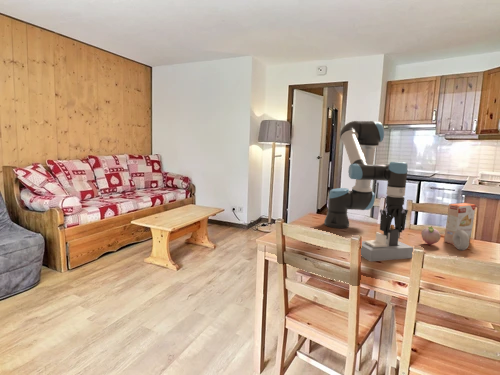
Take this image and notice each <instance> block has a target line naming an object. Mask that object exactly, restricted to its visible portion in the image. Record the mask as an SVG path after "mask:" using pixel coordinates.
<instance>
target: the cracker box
mask: <svg viewBox="0 0 500 375" xmlns="http://www.w3.org/2000/svg"><path fill="white" fill-rule="evenodd" d="M476 207H477V205H476V204H473V203H468V202H461V203H449V204H448V209H447V216H446V223H445V229H444V230H445V231H444V238H443V242H444V243H447V244H449V245H454V243H453V235H454V233H455V232H456V231H458V230H463V231H465V232H466V233H467V235H468V237H469V243H470V242H471V240H472V239H471V237H472V232H473V225H474V219H475V213H476ZM454 246H455V245H454Z"/></svg>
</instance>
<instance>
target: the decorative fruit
mask: <svg viewBox="0 0 500 375" xmlns="http://www.w3.org/2000/svg"><path fill="white" fill-rule="evenodd" d="M421 238H422V240H423V241H424V242H425V243H426V244H427V245H429V246H431V245H434V244H436V243H438V242H439V241H440V239H441V233H440V231H439V230H438V229H436V228H434V227H433V226H432V225H431V226H428V227H425V228H423V229H422V230H421Z"/></svg>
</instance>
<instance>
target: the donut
mask: <svg viewBox="0 0 500 375" xmlns="http://www.w3.org/2000/svg"><path fill="white" fill-rule="evenodd" d="M453 243H454V247H455V248H456V249H458V250H459V251H466V250H467V248H468V247H469V246H470V242H469V237H468V235H467V233H466V232H465V231H463V230H458V231H456V232H455V233H454V235H453Z"/></svg>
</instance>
